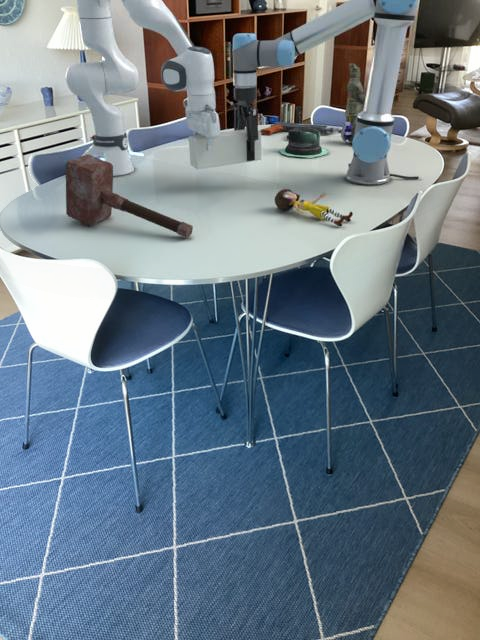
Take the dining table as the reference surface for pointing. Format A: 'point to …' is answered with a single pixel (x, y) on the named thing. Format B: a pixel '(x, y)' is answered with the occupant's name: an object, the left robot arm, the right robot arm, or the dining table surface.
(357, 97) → the statue
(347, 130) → the toy
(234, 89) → the right robot arm
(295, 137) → the green hat
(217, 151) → the box
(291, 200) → the figurine
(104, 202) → the sledgehammer
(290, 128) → the submachine gun
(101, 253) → the dining table surface
